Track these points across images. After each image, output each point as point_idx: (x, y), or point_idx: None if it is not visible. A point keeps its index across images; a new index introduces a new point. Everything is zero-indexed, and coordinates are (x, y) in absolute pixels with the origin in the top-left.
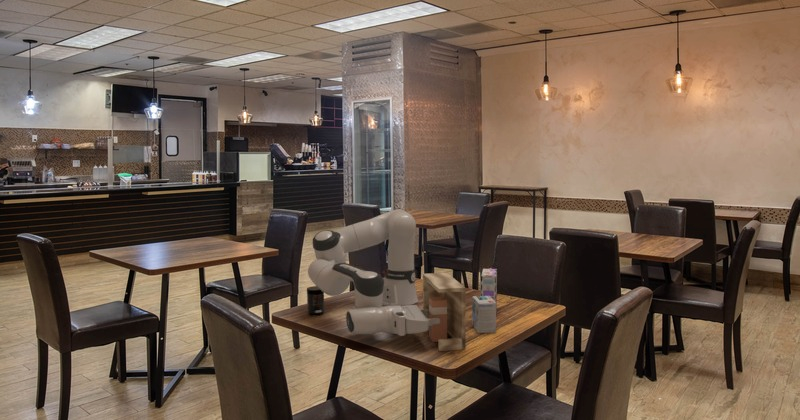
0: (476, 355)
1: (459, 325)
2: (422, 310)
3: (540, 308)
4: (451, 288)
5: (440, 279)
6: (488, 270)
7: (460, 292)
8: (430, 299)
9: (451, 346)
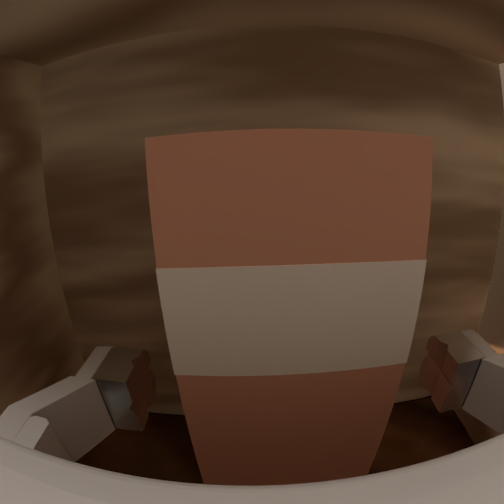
0: (497, 350)
1: (451, 292)
2: (50, 427)
3: None
4: None
5: None
6: None
7: (479, 69)
8: (291, 137)
9: None
